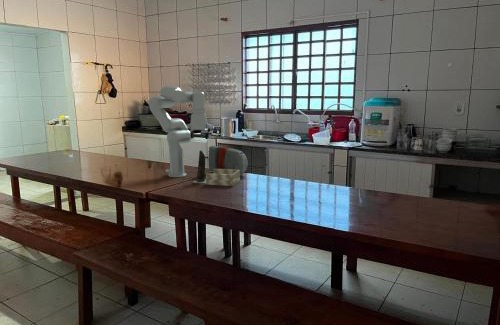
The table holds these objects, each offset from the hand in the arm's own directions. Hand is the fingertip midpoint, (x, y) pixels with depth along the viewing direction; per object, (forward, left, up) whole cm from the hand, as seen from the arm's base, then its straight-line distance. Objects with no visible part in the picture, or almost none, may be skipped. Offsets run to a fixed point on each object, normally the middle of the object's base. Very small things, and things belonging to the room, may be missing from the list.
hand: (199, 138), depth 230 cm
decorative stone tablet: (+11, +22, -28) cm, 38 cm away
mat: (0, 0, -28) cm, 28 cm away
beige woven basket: (+15, 0, -28) cm, 32 cm away
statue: (0, 0, -28) cm, 28 cm away
